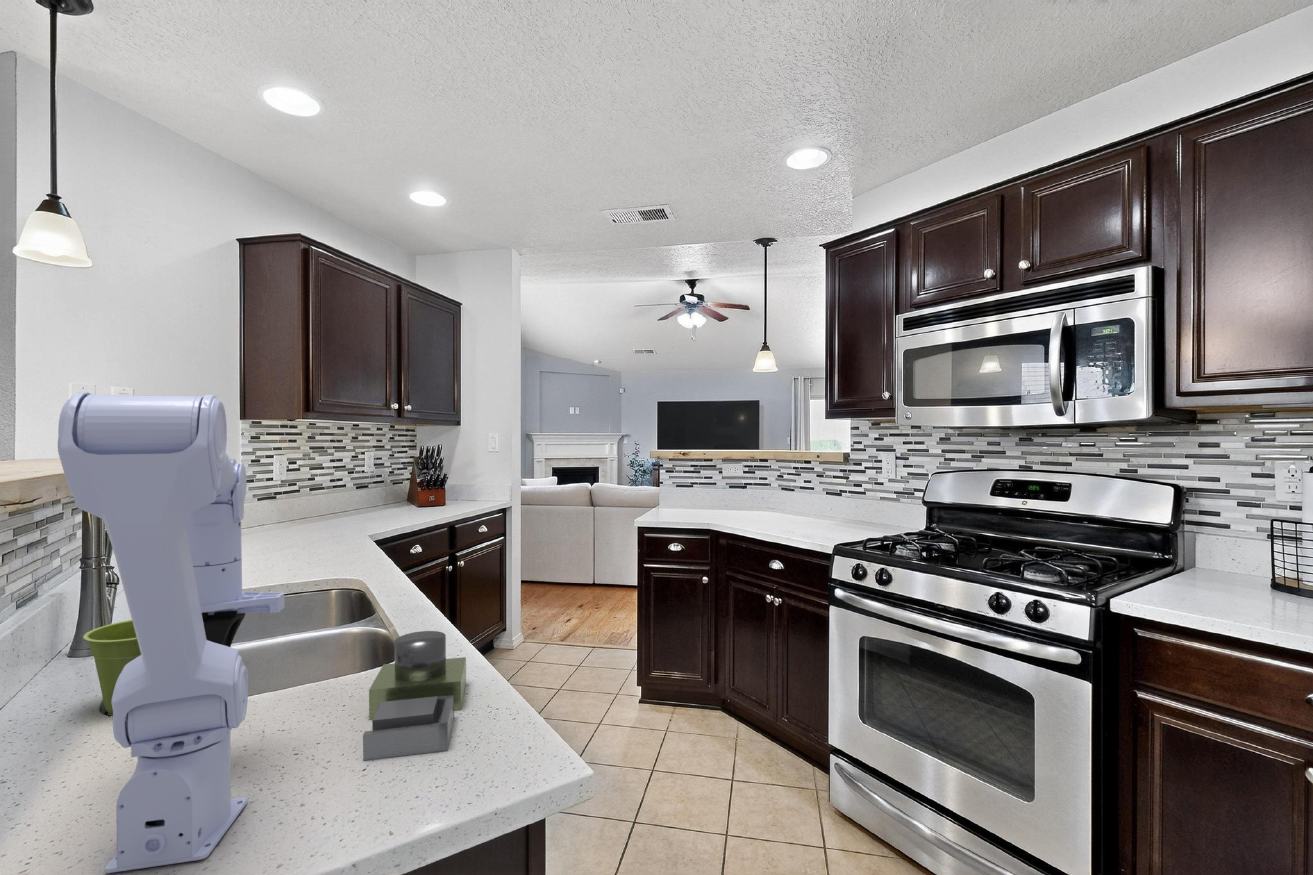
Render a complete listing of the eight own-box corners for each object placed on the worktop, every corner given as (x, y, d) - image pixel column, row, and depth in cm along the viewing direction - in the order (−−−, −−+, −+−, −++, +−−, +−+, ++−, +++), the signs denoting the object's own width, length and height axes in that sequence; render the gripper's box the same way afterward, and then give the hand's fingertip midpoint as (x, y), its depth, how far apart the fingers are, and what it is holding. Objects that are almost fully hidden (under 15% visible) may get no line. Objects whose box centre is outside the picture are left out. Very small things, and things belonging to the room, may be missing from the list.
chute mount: (453, 749, 76) (452, 676, 76) (347, 762, 73) (346, 685, 73) (466, 682, 97) (465, 625, 97) (383, 690, 94) (383, 631, 95)
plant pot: (64, 728, 83) (64, 644, 83) (109, 694, 94) (109, 620, 94) (170, 715, 87) (170, 634, 87) (201, 684, 98) (201, 612, 98)
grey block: (433, 745, 78) (432, 713, 78) (372, 753, 76) (372, 720, 76) (438, 726, 83) (437, 696, 83) (381, 732, 81) (381, 701, 81)
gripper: (292, 551, 79) (293, 657, 79) (159, 556, 75) (161, 667, 76) (271, 563, 72) (273, 680, 72) (124, 570, 68) (127, 692, 69)
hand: (214, 675), depth 73 cm, fingers closed
